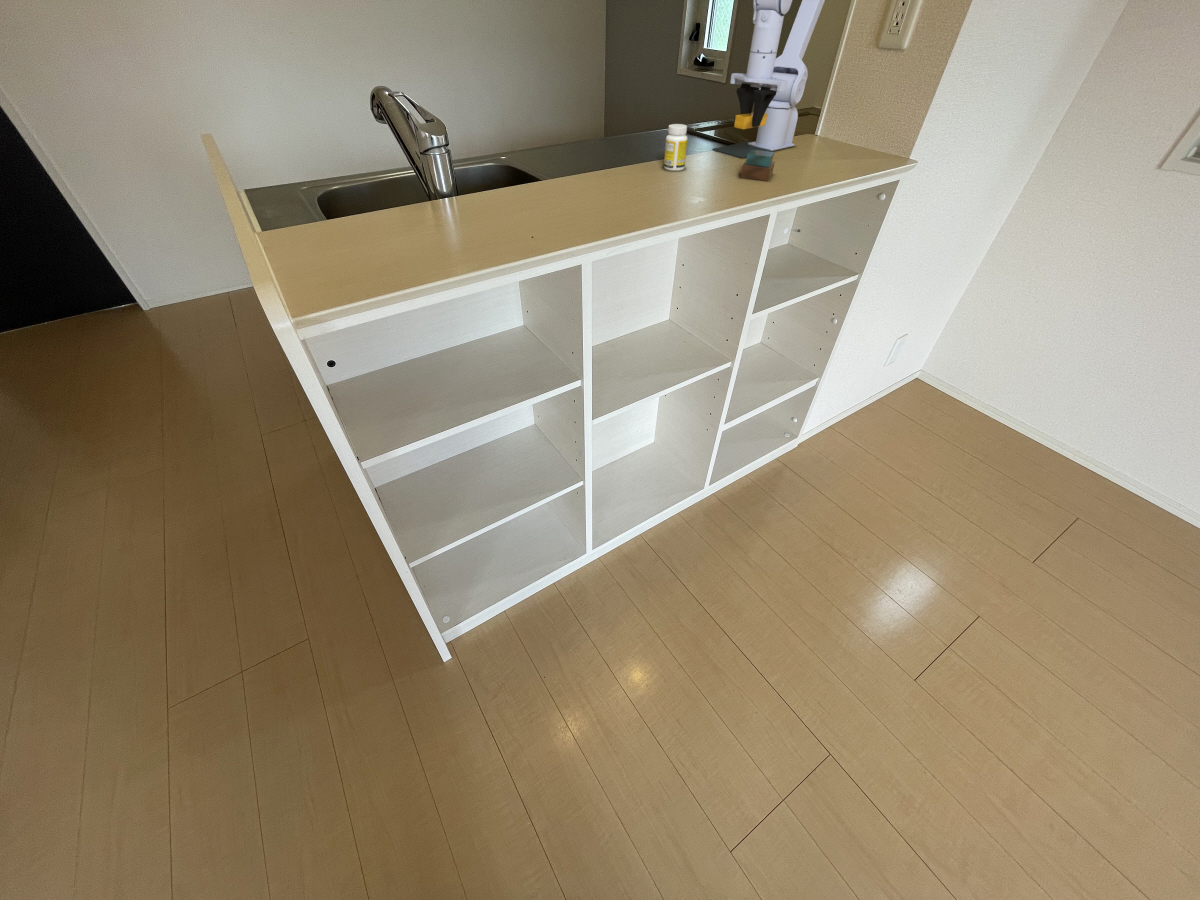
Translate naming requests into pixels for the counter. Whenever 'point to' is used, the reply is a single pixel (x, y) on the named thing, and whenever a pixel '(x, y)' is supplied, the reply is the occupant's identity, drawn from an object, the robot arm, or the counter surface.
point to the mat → (740, 149)
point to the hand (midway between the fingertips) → (750, 124)
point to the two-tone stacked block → (758, 165)
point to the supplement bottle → (675, 147)
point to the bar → (747, 121)
